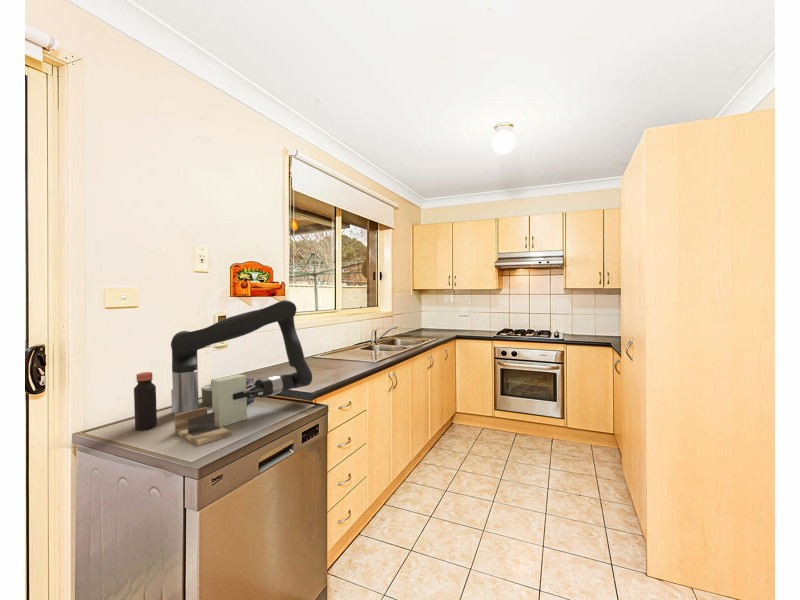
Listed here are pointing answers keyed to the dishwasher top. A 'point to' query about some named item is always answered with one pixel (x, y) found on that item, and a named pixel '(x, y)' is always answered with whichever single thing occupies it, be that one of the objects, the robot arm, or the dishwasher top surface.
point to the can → (207, 395)
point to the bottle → (145, 402)
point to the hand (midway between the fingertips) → (229, 395)
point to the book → (228, 399)
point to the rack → (199, 426)
